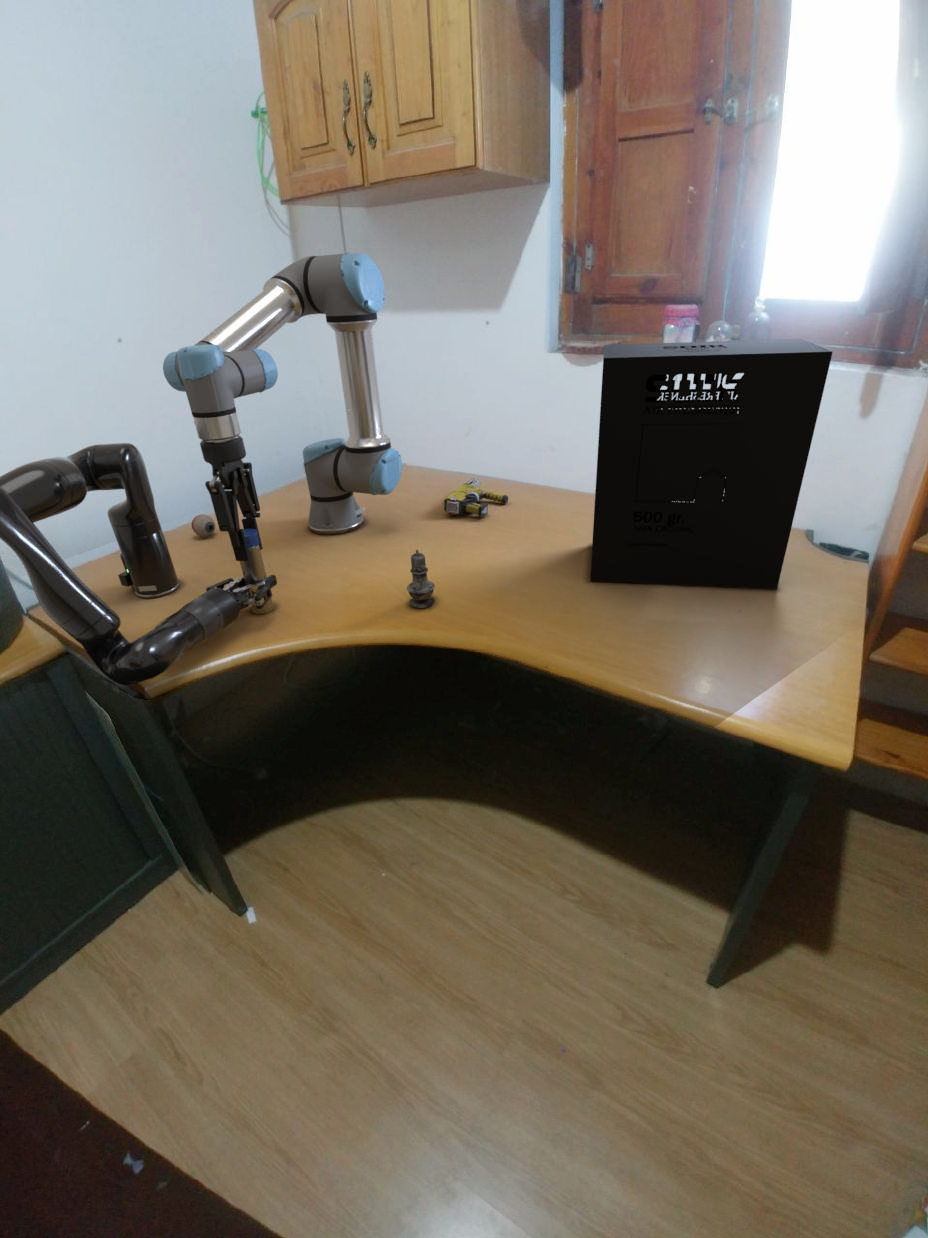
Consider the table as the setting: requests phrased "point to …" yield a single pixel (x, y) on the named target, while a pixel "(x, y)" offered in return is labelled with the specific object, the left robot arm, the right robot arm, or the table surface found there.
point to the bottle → (255, 575)
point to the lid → (251, 537)
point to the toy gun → (471, 499)
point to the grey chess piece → (420, 583)
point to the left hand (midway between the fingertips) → (265, 577)
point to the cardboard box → (703, 460)
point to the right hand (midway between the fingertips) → (249, 554)
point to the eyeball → (203, 525)
